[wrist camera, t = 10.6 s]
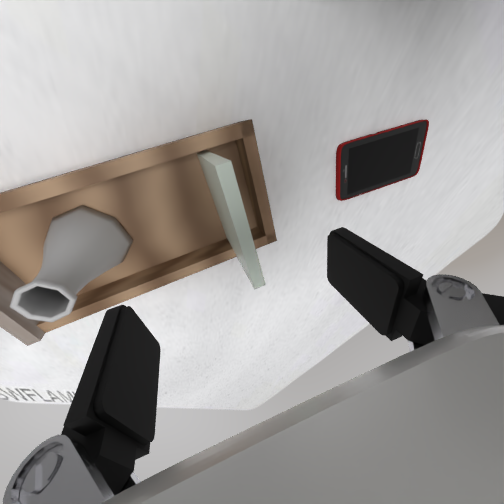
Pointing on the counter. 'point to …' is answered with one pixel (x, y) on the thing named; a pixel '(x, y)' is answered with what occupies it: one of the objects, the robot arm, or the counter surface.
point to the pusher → (232, 212)
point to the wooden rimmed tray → (134, 221)
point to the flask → (71, 262)
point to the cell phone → (379, 159)
